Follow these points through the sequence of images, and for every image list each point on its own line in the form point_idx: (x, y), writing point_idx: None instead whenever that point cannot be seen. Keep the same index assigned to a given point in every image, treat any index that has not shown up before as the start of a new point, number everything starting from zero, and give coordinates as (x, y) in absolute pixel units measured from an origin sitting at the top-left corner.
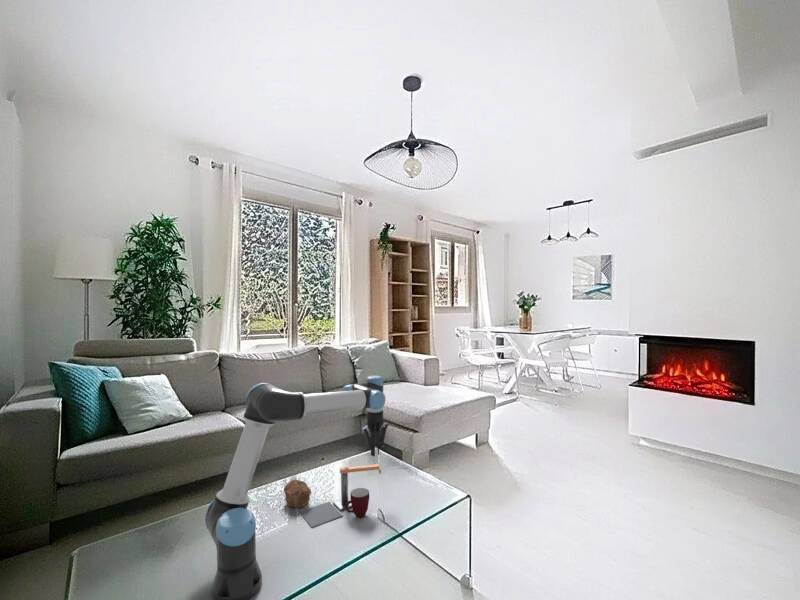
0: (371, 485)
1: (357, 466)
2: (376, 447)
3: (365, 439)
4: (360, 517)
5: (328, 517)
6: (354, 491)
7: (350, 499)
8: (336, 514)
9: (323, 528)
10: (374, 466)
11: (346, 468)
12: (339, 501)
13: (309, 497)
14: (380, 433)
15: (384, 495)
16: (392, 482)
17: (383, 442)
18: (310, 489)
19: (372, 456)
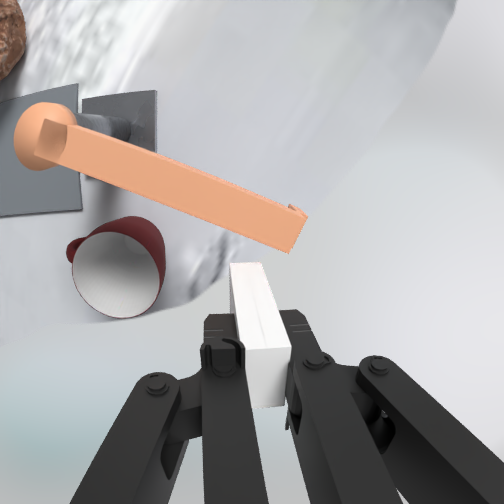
0: (302, 54)
1: (133, 153)
2: (287, 382)
3: (86, 490)
4: (133, 255)
5: (39, 193)
6: (104, 229)
7: (147, 121)
8: (65, 189)
9: (19, 237)
10: (253, 236)
11: (51, 142)
12: (102, 112)
13: (21, 47)
14: (457, 482)
15: (301, 163)
16: (387, 97)
17: (386, 430)
18: (2, 49)
19: (232, 293)
